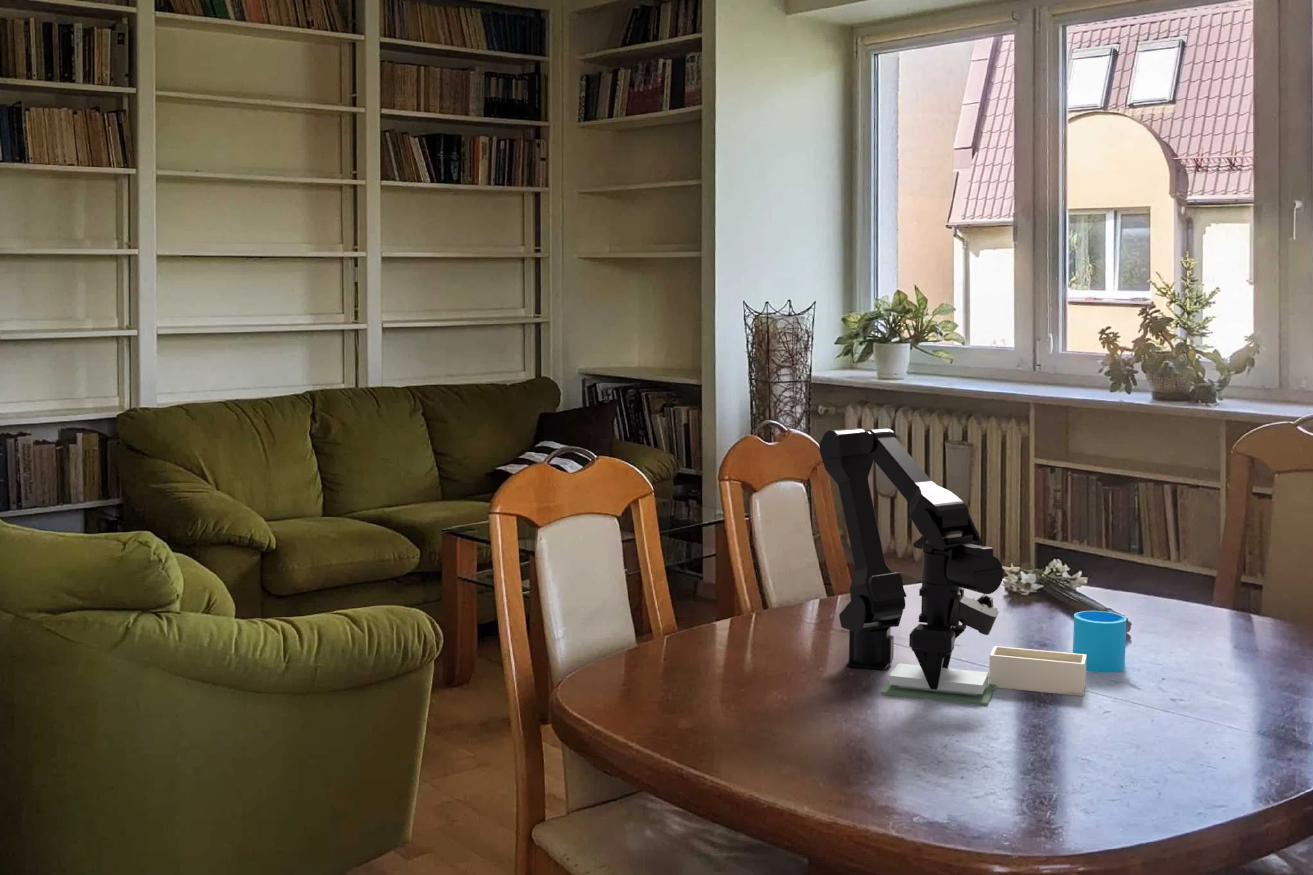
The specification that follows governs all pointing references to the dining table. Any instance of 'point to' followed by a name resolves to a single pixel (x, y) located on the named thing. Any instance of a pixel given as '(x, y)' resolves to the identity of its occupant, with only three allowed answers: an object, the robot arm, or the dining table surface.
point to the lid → (948, 681)
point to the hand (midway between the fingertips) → (938, 680)
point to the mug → (1100, 640)
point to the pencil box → (1038, 670)
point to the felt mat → (940, 694)
